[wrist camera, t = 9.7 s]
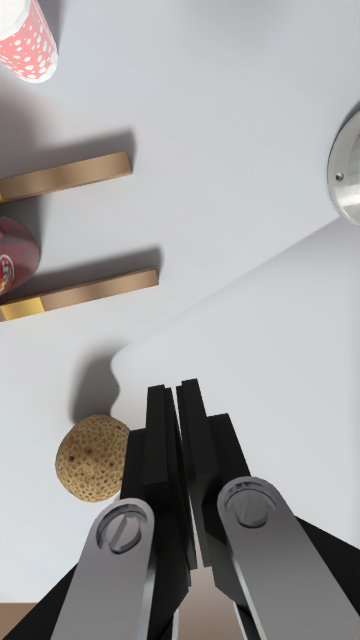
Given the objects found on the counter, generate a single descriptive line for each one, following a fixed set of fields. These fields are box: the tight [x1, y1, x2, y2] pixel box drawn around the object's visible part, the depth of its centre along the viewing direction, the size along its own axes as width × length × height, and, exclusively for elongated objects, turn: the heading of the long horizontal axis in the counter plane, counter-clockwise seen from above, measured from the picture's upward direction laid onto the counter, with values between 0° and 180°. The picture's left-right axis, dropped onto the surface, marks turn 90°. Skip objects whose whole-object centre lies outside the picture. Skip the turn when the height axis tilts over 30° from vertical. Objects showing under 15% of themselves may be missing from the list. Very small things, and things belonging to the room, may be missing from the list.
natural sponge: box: [55, 414, 131, 503], centre depth 34 cm, size 9×9×10 cm
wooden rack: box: [0, 151, 159, 322], centre depth 29 cm, size 20×13×5 cm, turn 102°
